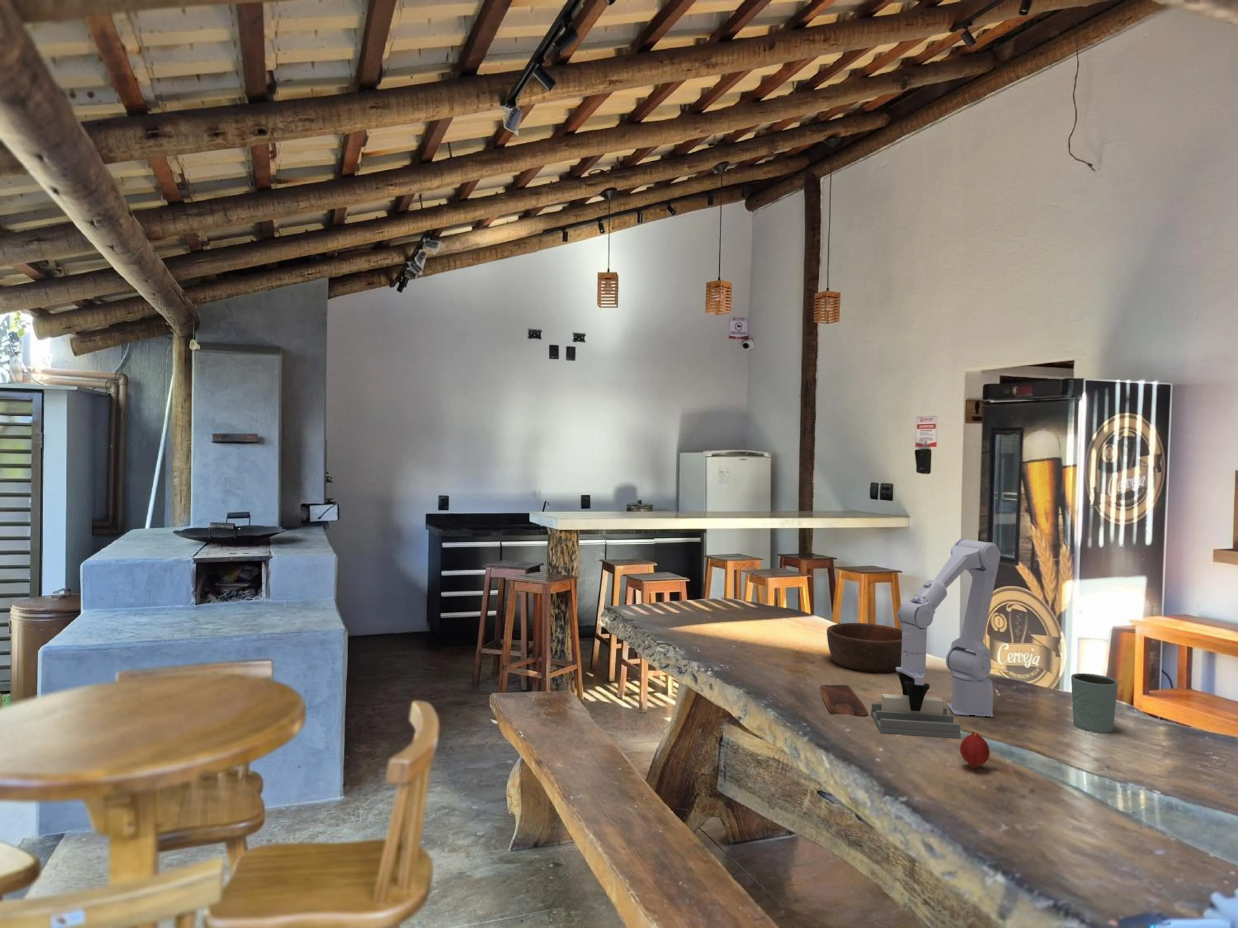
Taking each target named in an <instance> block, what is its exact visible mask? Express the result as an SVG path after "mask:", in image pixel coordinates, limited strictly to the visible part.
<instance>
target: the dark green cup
mask: <svg viewBox="0 0 1238 928" xmlns="http://www.w3.org/2000/svg"><path fill="white" fill-rule="evenodd" d="M1070 680H1071V682H1070V683H1071V701H1072V724H1073V726H1074V727H1076V728H1078V729H1080V728H1081V729H1080V730H1083V729H1084V730H1083V731H1086V730H1087V731H1086V732H1090V731H1092V732H1091V733H1096V732H1097V734H1110V733H1112V732H1113V731H1114V726H1115V724H1114V723H1115V715H1116V710H1115V709H1116V706H1117V705H1116V704H1117V693H1118V685H1119V683H1118V680H1117V679H1115V678H1112V677H1109V676H1105V675H1101V674H1094V673H1082V672H1081V673H1079V672H1078V673H1073V674H1071V676H1070Z"/></svg>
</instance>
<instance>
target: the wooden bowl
mask: <svg viewBox="0 0 1238 928" xmlns="http://www.w3.org/2000/svg"><path fill="white" fill-rule="evenodd" d="M826 638H827V645H828V650H829V653H830V656H831V658H832V660H833V661H834V662H835V664H837V665H838V666H841V667H843V668H845V669H848V670H849V669H850V670H853V671H857V672H865V673H866V672H867V673H891V672H897V671H896V667H901V653H902V630H901V628H897V627H893V626H889V625H882V624H875V623H868V622H867V623H864V622H844V623H836V624H832V625H830V626H828V627H827V629H826Z"/></svg>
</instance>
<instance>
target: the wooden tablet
mask: <svg viewBox="0 0 1238 928" xmlns="http://www.w3.org/2000/svg"><path fill="white" fill-rule="evenodd" d="M819 687H820V690H821V693H820V695H821V697H822V699H823V702H824V703H825V706H826V709H827V711H828V713H829V714H831V715H834V714H842V715H841V716H844V715H847V714H849V715H848V716H852V715H853V717H867V716H868V715H869V714H868V710H867V708H866V707H865V705H864V703H863V702H862V700H861V699H860V698H859V696H858V695H857V694H856V693H855V692H854V690H853V689H852V687H850V686H849V685H847V684H823V685H820V686H819ZM820 690H819V691H820ZM843 714H844V715H843Z"/></svg>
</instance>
